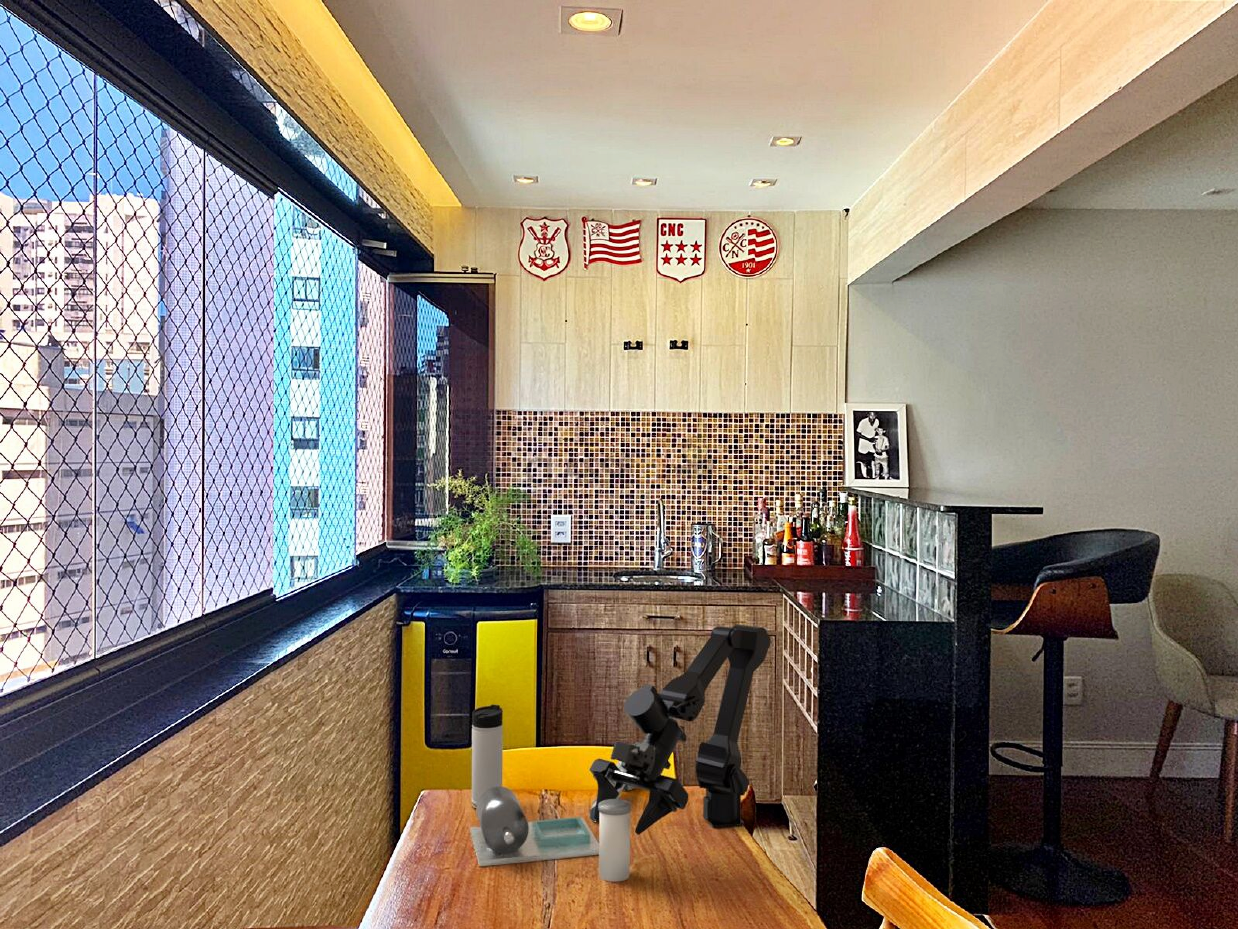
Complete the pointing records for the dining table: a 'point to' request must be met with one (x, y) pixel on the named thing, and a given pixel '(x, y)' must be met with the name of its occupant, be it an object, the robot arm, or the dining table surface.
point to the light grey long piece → (624, 787)
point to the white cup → (614, 840)
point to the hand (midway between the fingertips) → (615, 826)
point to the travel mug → (486, 750)
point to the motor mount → (525, 833)
